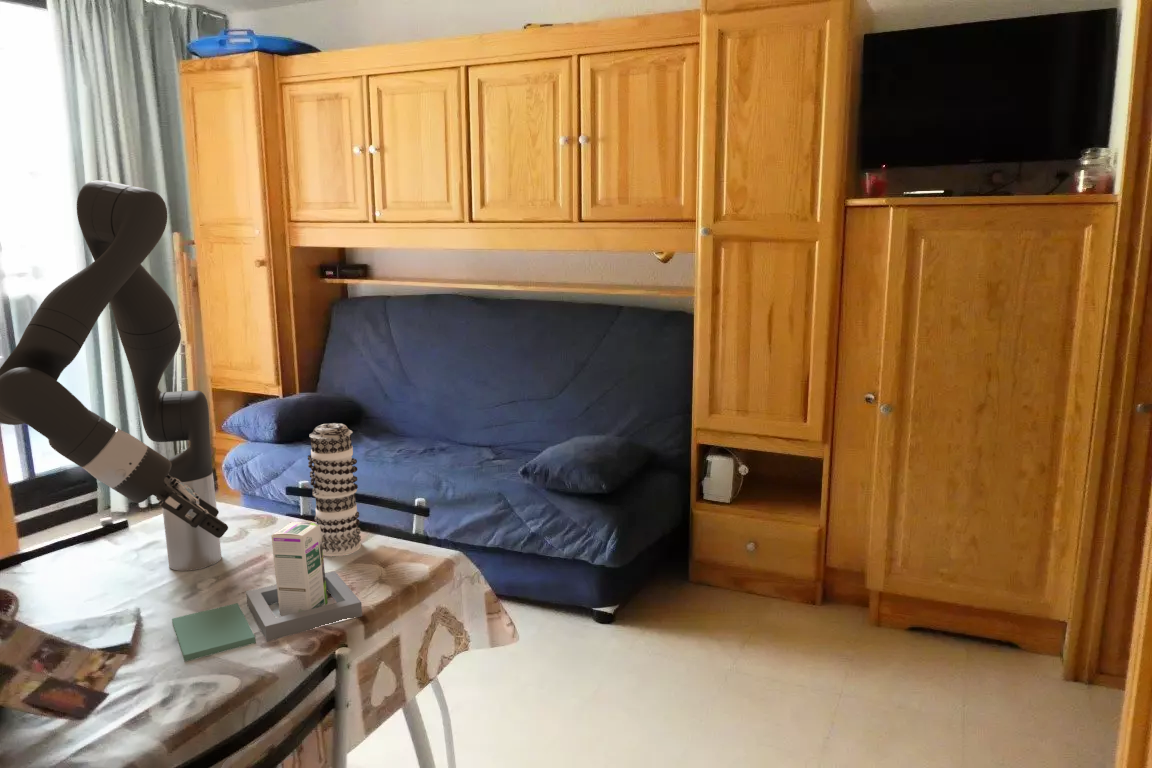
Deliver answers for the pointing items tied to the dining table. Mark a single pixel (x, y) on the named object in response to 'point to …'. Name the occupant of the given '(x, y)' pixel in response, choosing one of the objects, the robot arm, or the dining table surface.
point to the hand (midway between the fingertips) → (219, 524)
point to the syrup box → (299, 567)
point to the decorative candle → (335, 488)
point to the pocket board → (306, 619)
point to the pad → (212, 631)
